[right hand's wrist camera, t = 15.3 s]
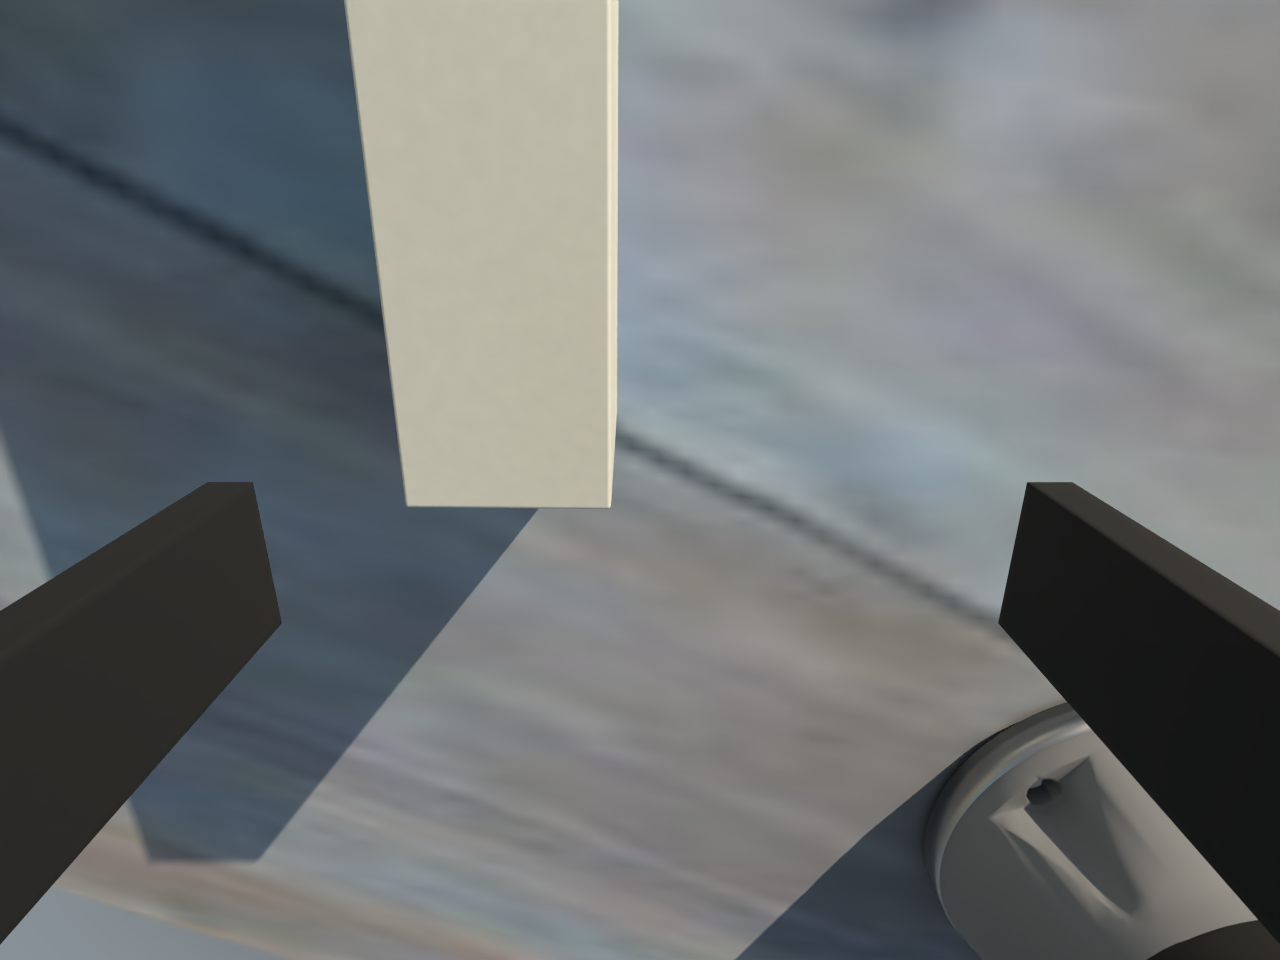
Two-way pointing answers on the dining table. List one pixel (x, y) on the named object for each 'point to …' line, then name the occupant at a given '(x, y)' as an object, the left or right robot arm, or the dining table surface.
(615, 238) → the beam
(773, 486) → the dining table surface
